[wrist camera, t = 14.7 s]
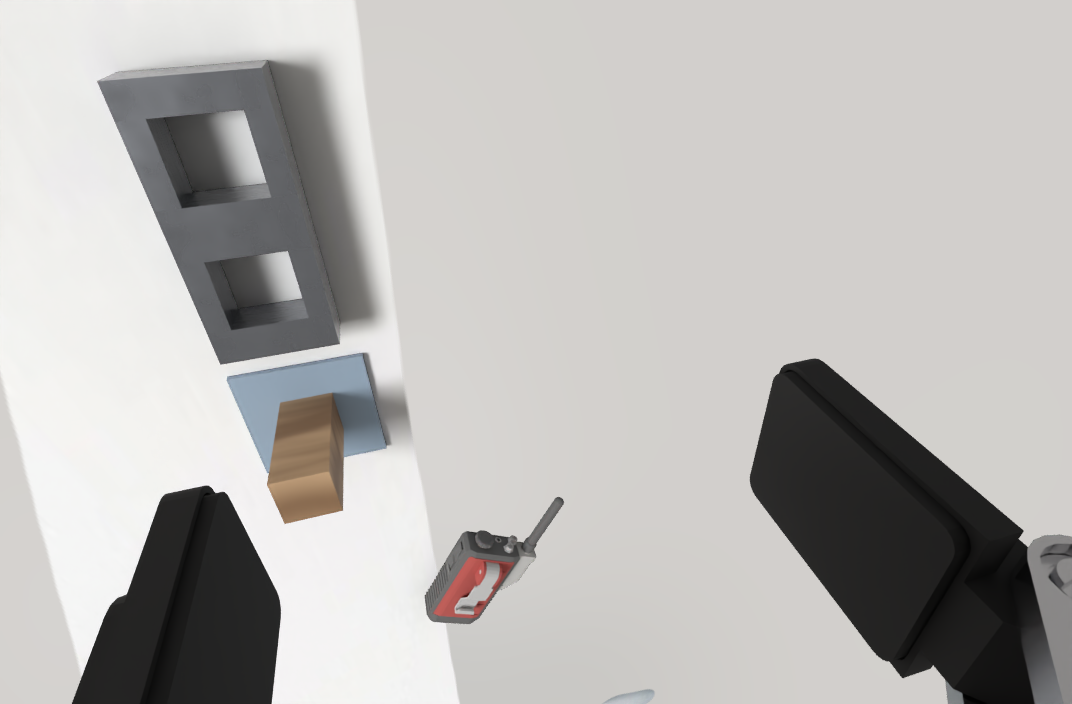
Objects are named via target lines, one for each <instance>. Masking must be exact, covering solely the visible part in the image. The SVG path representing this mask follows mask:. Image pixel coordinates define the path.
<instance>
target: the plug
mask: <svg viewBox="0 0 1072 704" xmlns="http://www.w3.org/2000/svg"><path fill="white" fill-rule="evenodd" d="M343 461H344V428H343V425H342V422H341V419H340V416H339V413H338V409H337V406H336V403H335V400H334V397H333V394H332V393H327V394H322V395H317V396H312V397H307V398H301V399H296V400H291V401H286V402H281V403H280V406H279V413H278V419H277V425H276V432H275V438H274V444H273V451H272V457H271V463H270V470H269V476H268V482H267V486H268V488H269V490H270V492H271V495H272V497H273V499H274V501H275V503H276V506H277V508H278V510H279V512H280V514H281V517H282V519H283V521H284V523H285V524H286V523H291V522H295V521H299V520H304V519H308V518H312V517H317V516H321V515H325V514H330V513H334V512H338V511H343Z"/></svg>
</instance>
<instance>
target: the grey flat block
mask: <svg viewBox="0 0 1072 704" xmlns="http://www.w3.org/2000/svg"><path fill="white" fill-rule="evenodd" d="M97 82H98V84H99V87H100V89H101V91H102V94H103V96H104V98H105V100H106V103H107V105H108V107H109V110H110V112H111V114H112V117H113V119H114V121H115V123H116V126H117V128H118V130H119V133H120V135H121V137H122V139H123V142H124V144H125V146H126V149H127V151H128V153H129V156H130V158H131V160H132V162H133V165H134V167H135V169H136V172H137V174H138V176H139V178H140V181H141V183H142V185H143V188H144V190H145V192H146V195H147V197H148V199H149V201H150V204H151V206H152V208H153V211H154V213H155V215H156V217H157V220H158V222H159V224H160V227H161V229H162V231H163V234H164V236H165V238H166V240H167V243H168V245H169V247H170V250H171V252H172V254H173V256H174V259H175V261H176V263H177V266H178V268H179V270H180V273H181V275H182V277H183V279H184V282H185V284H186V286H187V289H188V291H189V293H190V295H191V298H192V300H193V302H194V305H195V307H196V309H197V312H198V314H199V316H200V318H201V321H202V323H203V325H204V328H205V330H206V332H207V334H208V337H209V339H210V341H211V344H212V346H213V348H214V351H215V353H216V355H217V357H218V360H219V362H220V364H227V363H233V362H238V361H244V360H250V359H256V358H261V357H267V356H273V355H279V354H285V353H290V352H296V351H302V350H308V349H314V348H319V347H325V346H331V345H337V344H340V320H339V317H338V313H337V309H336V306H335V302H334V298H333V295H332V291H331V288H330V284H329V280H328V277H327V273H326V270H325V266H324V262H323V259H322V255H321V251H320V248H319V244H318V241H317V237H316V233H315V230H314V226H313V222H312V219H311V215H310V212H309V208H308V204H307V201H306V197H305V194H304V190H303V186H302V183H301V179H300V175H299V172H298V168H297V165H296V161H295V157H294V154H293V150H292V146H291V143H290V139H289V136H288V132H287V128H286V125H285V121H284V118H283V114H282V110H281V107H280V103H279V99H278V96H277V92H276V89H275V85H274V81H273V78H272V74H271V71H270V67H269V63H268V60H263V61H250V62H238V63H226V64H213V65H201V66H188V67H176V68H164V69H151V70H139V71H126V72H116V73H114V74H111V75H109V76H107V77H105V78H103V79H101V80H99V81H97ZM236 110H244V111H245V114H246V118H247V121H248V124H249V127H250V130H251V134H252V137H253V140H254V143H255V147H256V150H257V153H258V156H259V159H260V163H261V166H262V169H263V172H264V175H265V179H266V182H267V183H266V184H257V185H249V186H241V187H232V188H224V189H215V190H207V191H199V192H193V191H192V188H191V186H190V183H189V181H188V178H187V175H186V173H185V170H184V168H183V165H182V163H181V160H180V157H179V155H178V152H177V150H176V147H175V145H174V142H173V139H172V137H171V134H170V132H169V129H168V127H167V124H166V121H165V119H164V117H173V116H183V115H194V114H204V113H215V112H225V111H236ZM283 251H288V253H289V256H290V259H291V262H292V266H293V269H294V272H295V275H296V278H297V282H298V285H299V288H300V291H301V294H302V298H303V299H298V300H292V301H285V302H279V303H272V304H266V305H260V306H253V307H247V308H240V309H238V307H237V304H236V302H235V299H234V297H233V294H232V291H231V289H230V286H229V284H228V281H227V279H226V276H225V273H224V271H223V268H222V266H221V263H220V261H219V260H226V259H233V258H240V257H247V256H254V255H261V254H268V253H275V252H283Z"/></svg>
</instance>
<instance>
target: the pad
mask: <svg viewBox="0 0 1072 704" xmlns="http://www.w3.org/2000/svg"><path fill="white" fill-rule="evenodd" d="M227 382H228V384H229V387H230V389H231V391H232V393H233V396H234V398H235V400H236V403H237V405H238V407H239V409H240V412H241V414H242V416H243V419H244V421H245V423H246V425H247V428H248V430H249V432H250V435H251V437H252V439H253V441H254V444H255V446H256V448H257V451H258V453H259V455H260V458H261V460H262V462H263V464H264V467H265V469H266V471H267V473H269V470H270V463H271V457H272V451H273V444H274V438H275V432H276V425H277V419H278V413H279V406H280V403H281V402H286V401H291V400H296V399H301V398H307V397H312V396H317V395H322V394H327V393H332V394H333V397H334V400H335V403H336V406H337V409H338V413H339V416H340V419H341V422H342V425H343V428H344V457H347V456H352V455H357V454H361V453H366V452H371V451H376V450H381V449H385V448H386V443H385V439H384V435H383V431H382V427H381V424H380V420H379V416H378V412H377V408H376V404H375V400H374V397H373V393H372V389H371V385H370V381H369V377H368V374H367V370H366V366H365V362H364V358H363V354H362V353H360V354H354V355H349V356H343V357H337V358H332V359H326V360H320V361H315V362H309V363H303V364H298V365H292V366H286V367H281V368H275V369H270V370H264V371H258V372H253V373H247V374H241V375H236V376H230V377H227Z"/></svg>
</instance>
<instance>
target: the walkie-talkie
mask: <svg viewBox="0 0 1072 704" xmlns="http://www.w3.org/2000/svg"><path fill="white" fill-rule="evenodd" d="M563 503H564V501H563V499H562V498H560V497H557V498H555V500H554V501H553V503H552V504H551V506H550V507H549V508H548V510H547V511H546V513H545V514H544V516H543V517H542V519H541V520H540V522H539V523H538V525H537V526H536V528H535V529H534V531H533V532H532V534H531V535H530V536H529V537H528V538H526V540H525V541H524V543H523V542H516V541H517V538H516V537H515V536H513V535H512V536H511V537H504V536H498V535H491V534H490V533H489V532H487V531H479V532H470V531H466V532H464V533H462V535H461V537H460V538H459V540H458V541H457V543H456V545H455V546H454V548H453V549H452V551H451V553H450V554H449V556H448V558H447V559H446V562H445V563H444V565H443V566H442V568H441V569H440V571H439V572H438V576H436V579H435V580H434V582H433V583H432V586H430V589H428V592H426V595H425V603H426V611H427V615H428V617H429V619H430V620H432V621H433V622H443V623H459V624H470V623H472V622H474V621H475V620H477V619H478V618H479V617H480V616H481V614H482V613H483V612H484V610H485V609H486V607H487V606H488V604H489V603H490V601H491V600H492V598H493V597H494V595H495V594H496V592H497V591H498V590H502V589H504V588H506V587H508V586H510V585H511V584H513V583H515V582H517V581H518V580H519V579H520V578H521V576H522V575H523V573H524V572H525V571H526V569H527V568H528V566H529V565H530V564H531V563H532V562H533V561H534V559H535V558H536V554H535V551H534V548H535V547H536V543H537V541H538V540H539V538H540V537H541V536H542V534H543V533H544V531H545V530H546V529H547V527H548V526H549V524H550V523H551V521H552V520H553V518H554V517H555V516H556V514H557V513H558V511H559V510H560V508H561V507H562V505H563Z"/></svg>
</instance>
